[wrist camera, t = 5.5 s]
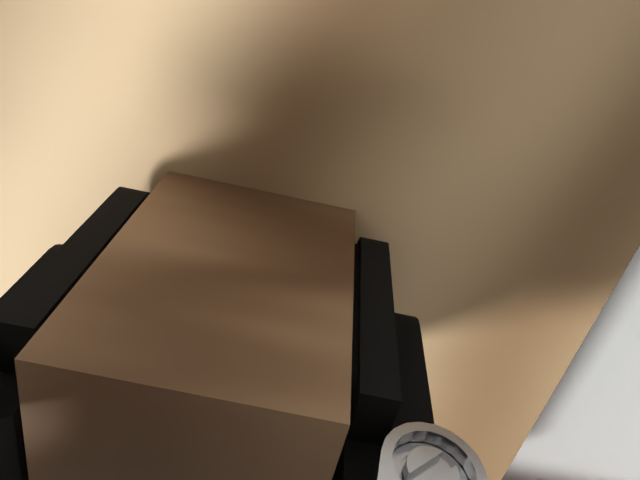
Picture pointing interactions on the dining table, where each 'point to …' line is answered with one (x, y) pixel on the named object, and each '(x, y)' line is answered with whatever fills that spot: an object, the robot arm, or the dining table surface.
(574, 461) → the dining table surface
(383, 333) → the robot arm
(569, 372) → the dining table surface
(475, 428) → the lid
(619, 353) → the dining table surface
